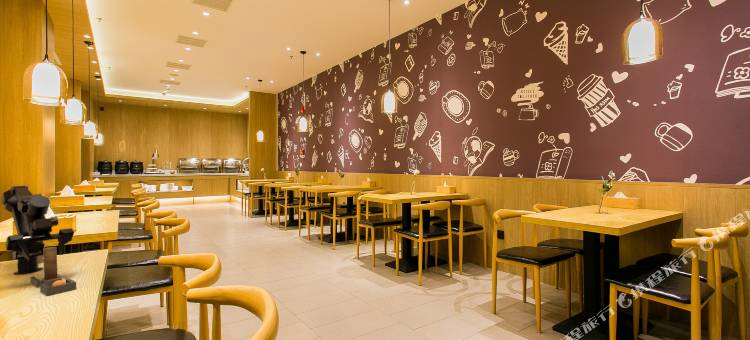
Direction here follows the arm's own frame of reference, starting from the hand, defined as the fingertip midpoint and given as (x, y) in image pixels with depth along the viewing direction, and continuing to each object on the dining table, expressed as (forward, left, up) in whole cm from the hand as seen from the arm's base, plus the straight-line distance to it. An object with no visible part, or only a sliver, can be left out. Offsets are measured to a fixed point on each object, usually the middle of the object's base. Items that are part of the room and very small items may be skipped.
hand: (46, 256), depth 136 cm
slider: (+3, +3, -10) cm, 11 cm away
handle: (-33, -24, -10) cm, 42 cm away
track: (-1, -1, -10) cm, 10 cm away
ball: (+10, +10, -8) cm, 16 cm away
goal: (+9, +9, -10) cm, 17 cm away
